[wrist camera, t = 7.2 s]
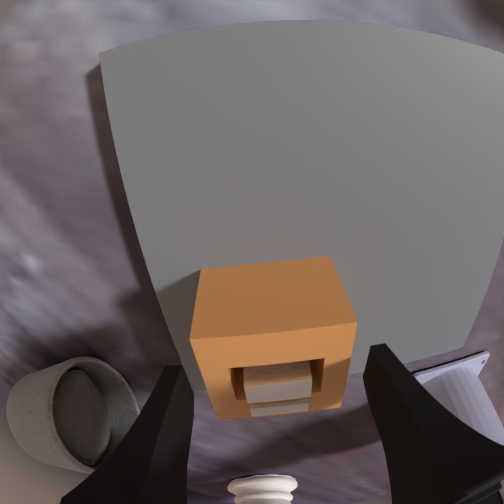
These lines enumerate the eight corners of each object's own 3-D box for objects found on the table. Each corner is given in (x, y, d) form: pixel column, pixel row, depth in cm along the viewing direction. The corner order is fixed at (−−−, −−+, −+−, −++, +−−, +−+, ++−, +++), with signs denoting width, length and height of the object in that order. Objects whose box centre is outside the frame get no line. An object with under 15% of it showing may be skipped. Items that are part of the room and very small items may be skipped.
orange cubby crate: (329, 256, 13) (358, 326, 10) (324, 343, 16) (341, 410, 12) (200, 269, 13) (188, 343, 10) (221, 354, 16) (218, 423, 12)
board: (455, 335, 18) (462, 347, 17) (194, 375, 19) (193, 390, 18) (507, 59, 9) (523, 61, 8) (111, 54, 10) (99, 53, 8)
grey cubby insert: (295, 318, 15) (310, 396, 11) (245, 323, 15) (247, 403, 11) (295, 298, 14) (311, 379, 10) (242, 304, 14) (243, 386, 10)
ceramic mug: (20, 357, 19) (-15, 437, 12) (75, 330, 17) (33, 438, 10) (110, 426, 24) (95, 498, 17) (177, 414, 22) (169, 503, 15)
